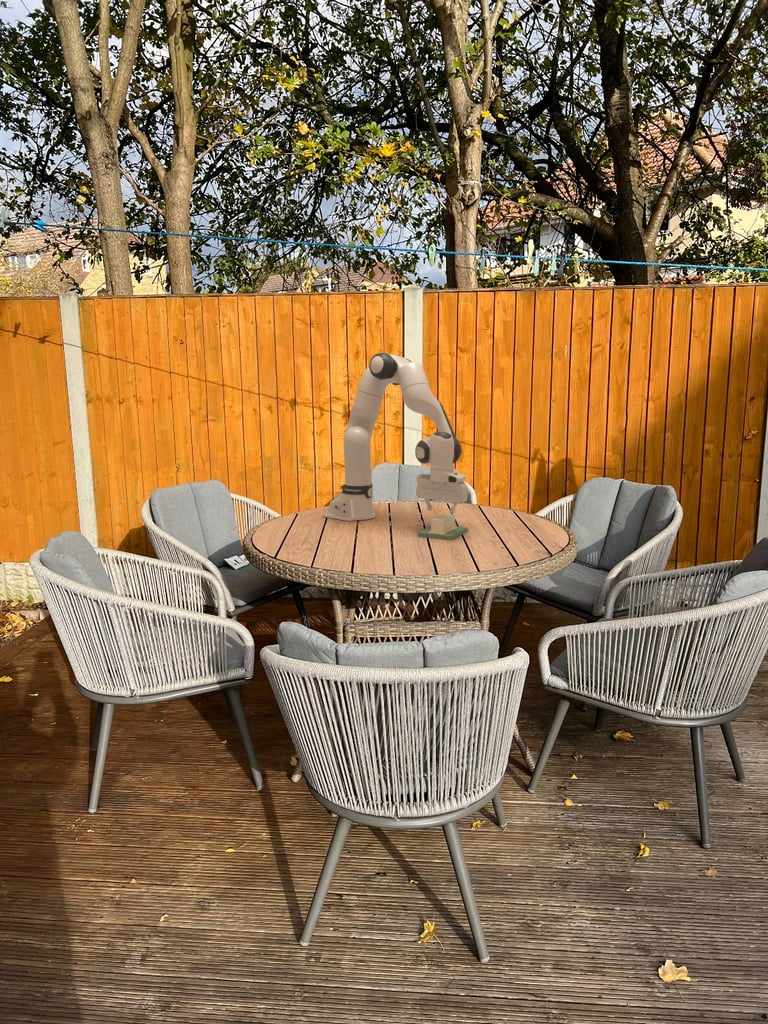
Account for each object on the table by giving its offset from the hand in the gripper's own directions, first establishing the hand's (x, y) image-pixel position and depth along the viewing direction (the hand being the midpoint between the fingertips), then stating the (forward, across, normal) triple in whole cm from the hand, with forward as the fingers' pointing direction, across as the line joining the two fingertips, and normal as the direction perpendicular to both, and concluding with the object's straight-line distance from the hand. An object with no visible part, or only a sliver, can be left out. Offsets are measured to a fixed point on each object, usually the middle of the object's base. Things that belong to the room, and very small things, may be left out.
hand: (440, 511), depth 290 cm
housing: (+7, +1, +1) cm, 7 cm away
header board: (+9, +1, +1) cm, 9 cm away
